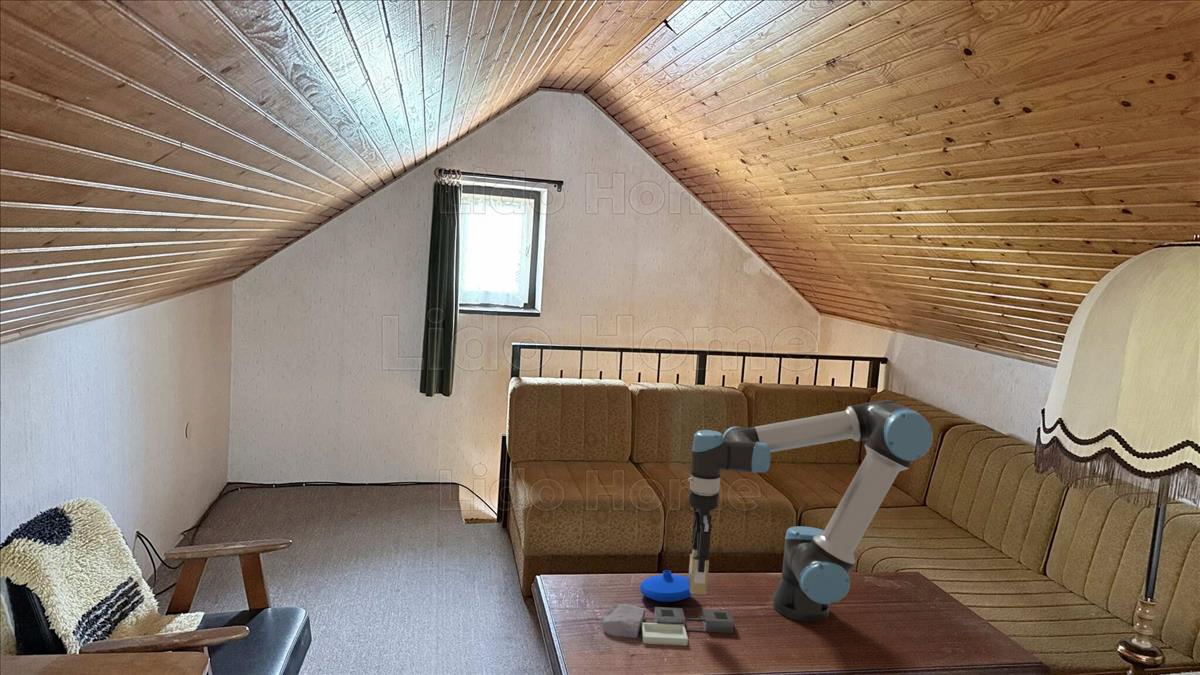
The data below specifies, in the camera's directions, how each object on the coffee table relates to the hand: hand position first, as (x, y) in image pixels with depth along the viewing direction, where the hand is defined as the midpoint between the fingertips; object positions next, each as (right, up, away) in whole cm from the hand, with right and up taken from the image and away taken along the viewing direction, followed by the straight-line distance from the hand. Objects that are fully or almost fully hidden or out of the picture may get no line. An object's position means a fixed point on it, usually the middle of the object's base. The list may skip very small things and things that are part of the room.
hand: (697, 578), depth 187 cm
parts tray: (-9, -13, -6) cm, 17 cm away
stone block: (-20, -12, -1) cm, 23 cm away
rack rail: (-1, -13, +1) cm, 13 cm away
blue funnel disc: (-6, -10, +15) cm, 19 cm away
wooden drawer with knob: (0, -3, 0) cm, 3 cm away
